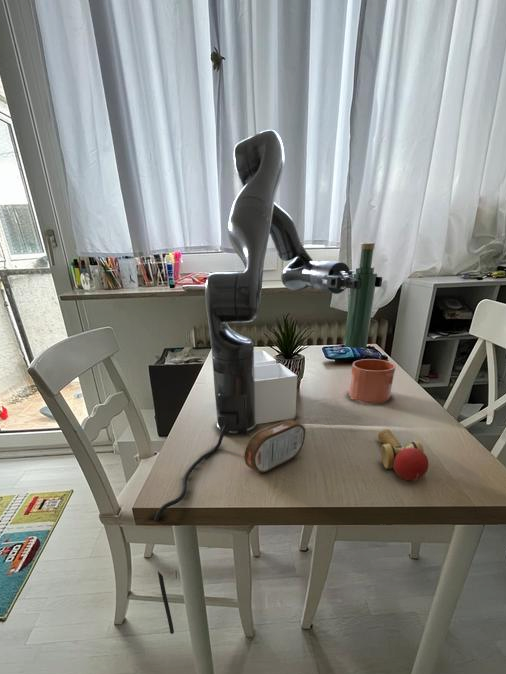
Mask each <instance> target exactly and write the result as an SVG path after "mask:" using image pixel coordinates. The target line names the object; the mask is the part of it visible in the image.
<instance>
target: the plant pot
mask: <svg viewBox="0 0 506 674" xmlns="http://www.w3.org/2000/svg"><path fill="white" fill-rule="evenodd" d="M396 367H397V366H396V364H395V363H393V362H392V361H390V360H389V361H388V360H384V359H377V358H365V359H358V360H355V361H353V362H352V364H351V371H350V382H349V389H348V396H349V397H350V398H351V399H353V400H355V401H358V402H362V403H370V404H371V403H383V402H386V401H389V400H390V398H391V395H392V390H393V385H394V384H393V383H394V380H395V379H394V378H395V374H396V373H395V372H396Z"/></svg>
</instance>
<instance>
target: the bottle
mask: <svg viewBox="0 0 506 674" xmlns="http://www.w3.org/2000/svg"><path fill="white" fill-rule="evenodd" d="M375 245H376V243H375V242H361V245H360V246H361V247H360V251H361V252H360V260H359V266H356V267H355V271H356V272H353V273H352V277H351V278H358V279H360V288H359V289H352V288H349V295H348V296H349V297H348V305H347V313H346V314H347V315H346V321H345V322H346V324H345V333H344V341H343V345H344V347H347V348H352V349H362V348H366V347H367V346H368V341H369V334H370V327H371V321H372V320H371V319H372V313H373V306H374V298H375V291H376V287H375V285H376V278H377V276H378V275H377V274H378V272H377V271H376V272H375V267H374V266H372V264H373V256H374V250H375Z"/></svg>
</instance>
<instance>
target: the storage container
mask: <svg viewBox="0 0 506 674" xmlns="http://www.w3.org/2000/svg"><path fill="white" fill-rule="evenodd" d="M254 384H255V421H256V425H259V424H265V423H272V422H279V421H280V422H281V421H285V420H288V419H292V420H293V419H296V415H297V414H296V413H297V391H298V375H297V374H296V373H294V372H293V371H292V370H291V369H289V368H287V366H285V365H284V364H282V363H280V362H279V363H278V362H277V359H275V358H274V357H273V356H271V355H270V354H269V353H268V352H267V351H265V350H264V349H261V350H254Z"/></svg>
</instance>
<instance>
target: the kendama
mask: <svg viewBox="0 0 506 674" xmlns="http://www.w3.org/2000/svg"><path fill="white" fill-rule="evenodd" d="M377 439H378V441H379V442H380V443H382V445H381V449H380V455H381V461H382V464H383V467H384V468H385V469H393V470H394V472H395V473H396V475H397V476H398V477H399V478H401V479H403V480H406V481H412V482H414V481H417V480H419V479H422V478H423V477H424V476H425V475H426V474H427V472H428V469H429V466H430V465H429V464H430V463H429V459H428V456H427V455H426V454H425V452H424V448H423V445H422V442H421V441H420V440H413V441H412V442H411V443H409V445H407V446H402V444H401V443H400V442H399V440H398V439H397V437H395V435H394V434H393V432H392V431H391V429H390V430H389V429H388V428H384V429H381V431H379V433H378V434H377Z"/></svg>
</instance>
